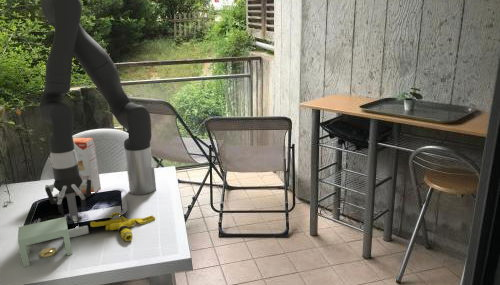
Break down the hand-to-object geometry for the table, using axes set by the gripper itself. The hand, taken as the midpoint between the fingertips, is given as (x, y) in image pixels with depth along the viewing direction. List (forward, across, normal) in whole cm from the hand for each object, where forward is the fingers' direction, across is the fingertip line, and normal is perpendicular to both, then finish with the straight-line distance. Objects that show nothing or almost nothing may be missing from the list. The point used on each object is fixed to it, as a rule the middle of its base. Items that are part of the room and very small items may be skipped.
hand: (73, 211), depth 133 cm
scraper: (+2, 0, +6) cm, 6 cm away
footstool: (+2, +8, +20) cm, 22 cm away
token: (+2, +8, +20) cm, 22 cm away
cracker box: (+2, -4, -21) cm, 22 cm away
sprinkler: (+3, -14, +18) cm, 23 cm away
